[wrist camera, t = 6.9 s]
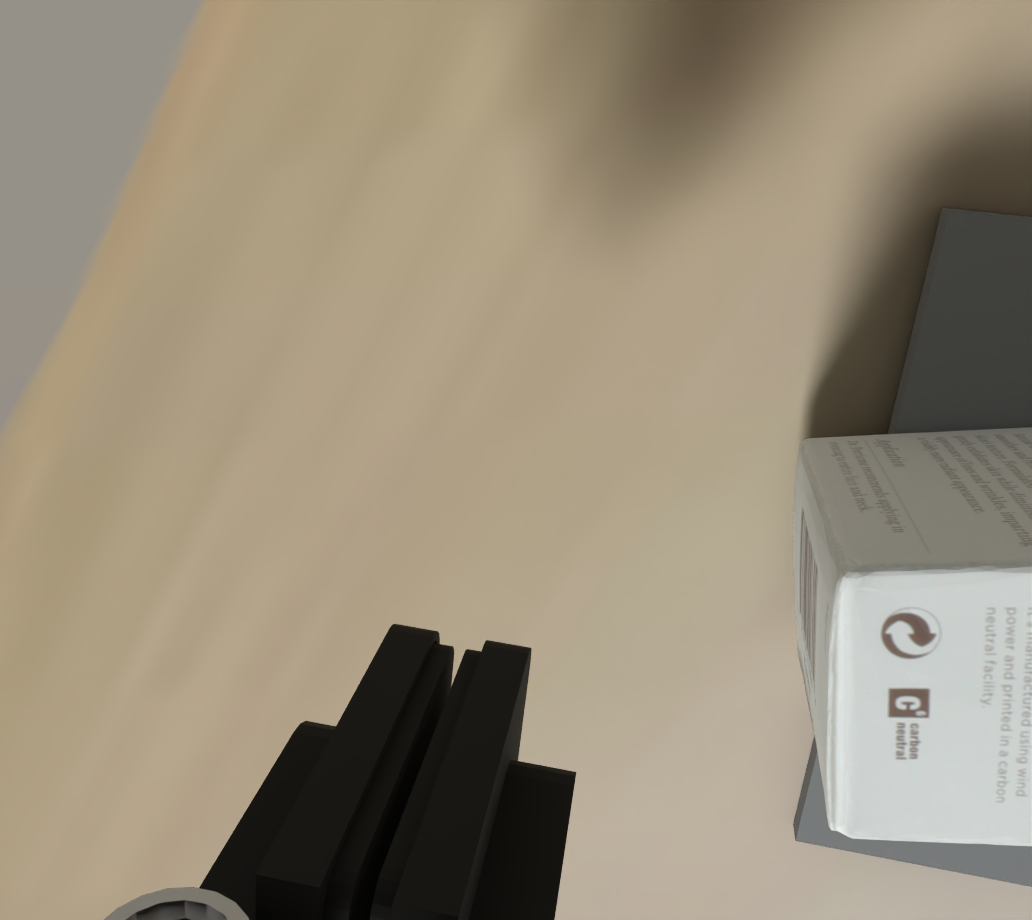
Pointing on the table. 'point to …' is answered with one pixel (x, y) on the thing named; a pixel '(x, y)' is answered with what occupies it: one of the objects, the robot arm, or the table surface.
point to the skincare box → (919, 631)
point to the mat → (956, 407)
